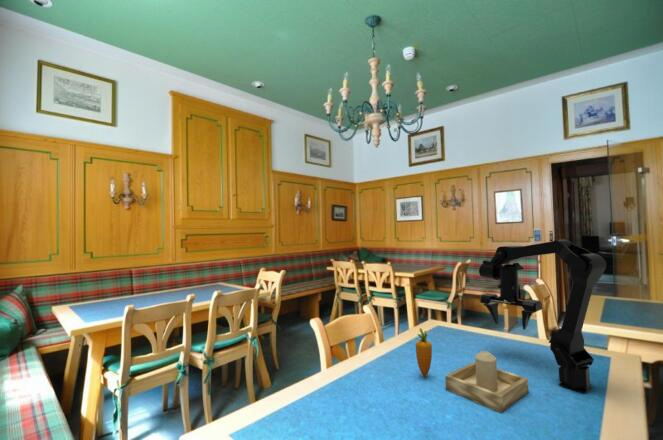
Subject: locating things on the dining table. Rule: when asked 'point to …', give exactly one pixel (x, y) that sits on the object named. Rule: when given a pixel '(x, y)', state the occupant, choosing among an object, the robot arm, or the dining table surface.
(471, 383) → the box
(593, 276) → the robot arm
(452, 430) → the dining table surface
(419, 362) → the carrot
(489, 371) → the candle
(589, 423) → the dining table surface
